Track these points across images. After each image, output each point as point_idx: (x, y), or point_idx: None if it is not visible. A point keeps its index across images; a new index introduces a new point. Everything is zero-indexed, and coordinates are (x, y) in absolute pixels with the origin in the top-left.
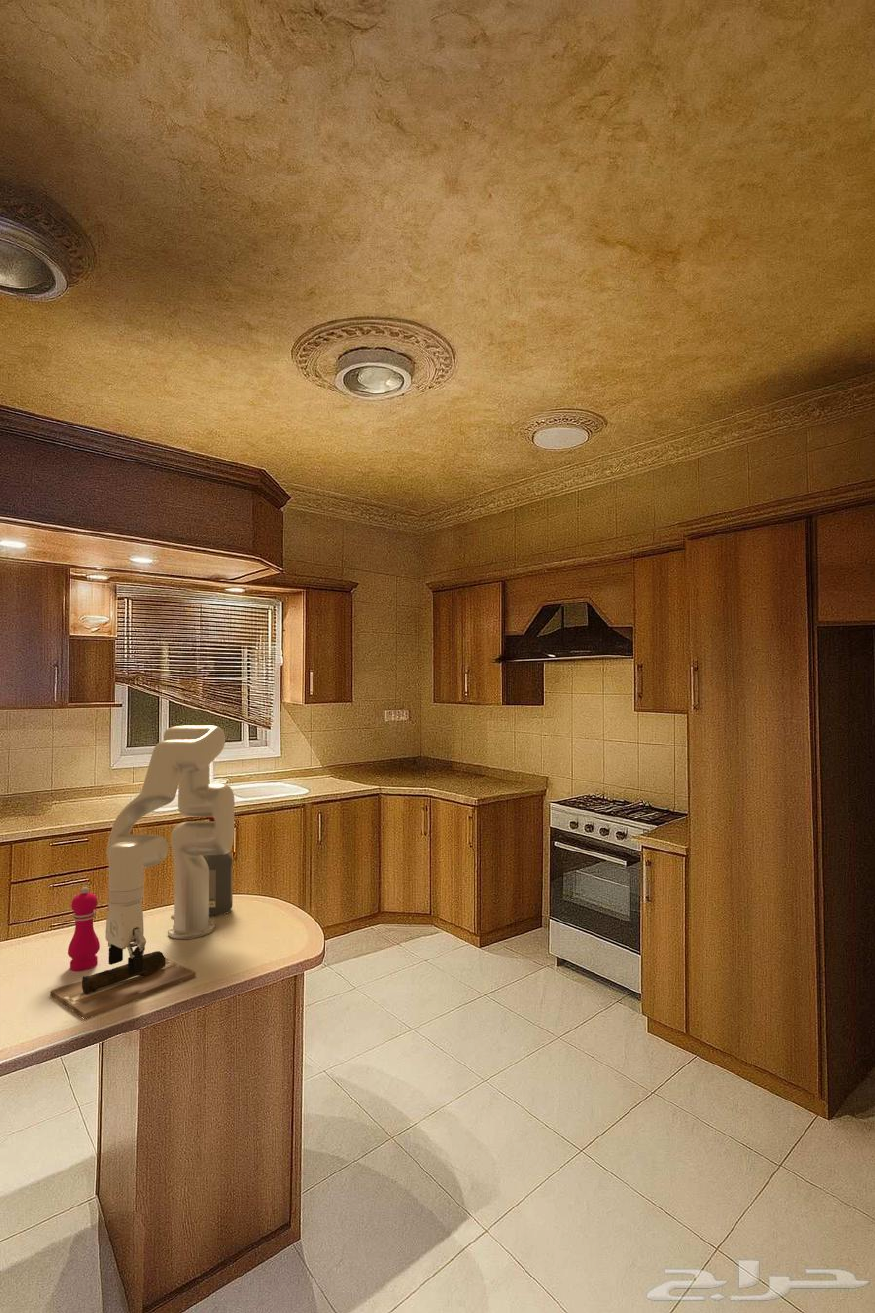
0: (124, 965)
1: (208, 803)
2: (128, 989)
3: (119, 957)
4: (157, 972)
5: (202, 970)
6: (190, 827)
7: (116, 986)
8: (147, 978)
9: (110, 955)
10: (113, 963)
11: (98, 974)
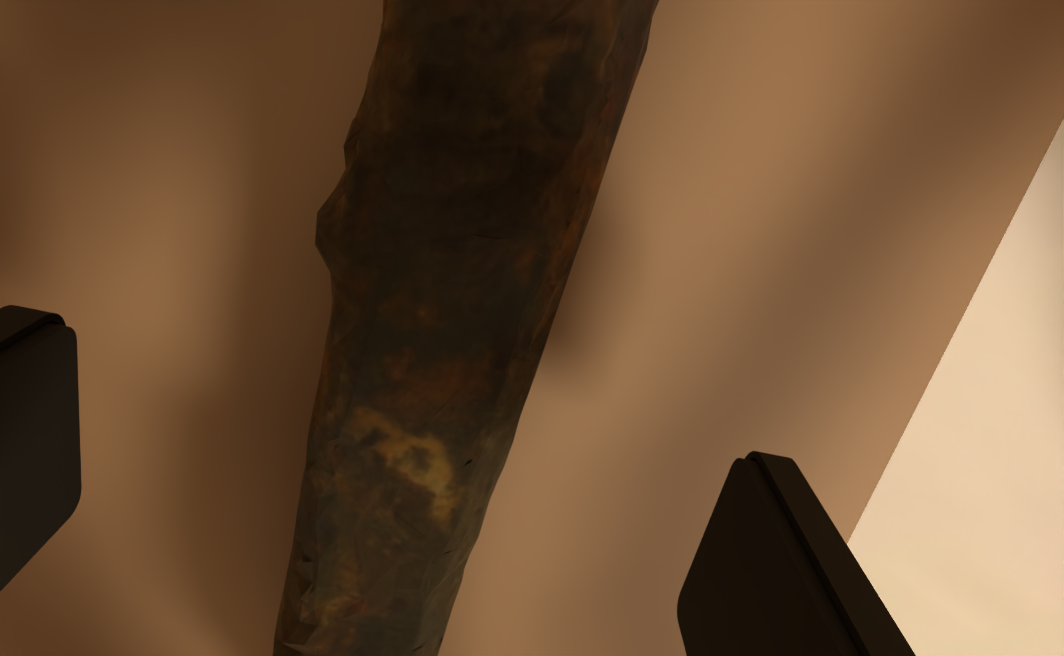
0: (410, 492)
1: None
2: (158, 233)
3: (706, 623)
4: None
5: None
6: None
7: None
8: (261, 520)
9: (796, 561)
10: (720, 494)
11: (500, 9)
